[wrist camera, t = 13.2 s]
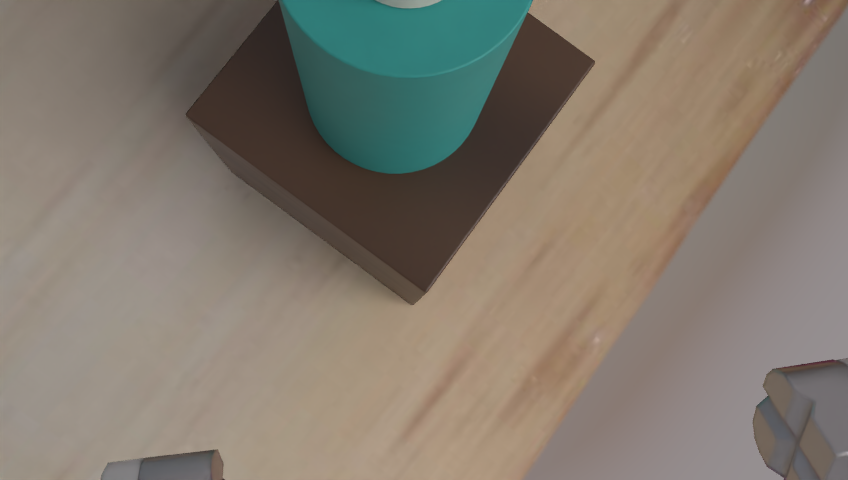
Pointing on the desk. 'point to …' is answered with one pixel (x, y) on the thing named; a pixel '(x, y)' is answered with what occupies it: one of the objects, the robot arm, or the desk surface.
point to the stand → (374, 191)
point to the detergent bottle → (399, 73)
